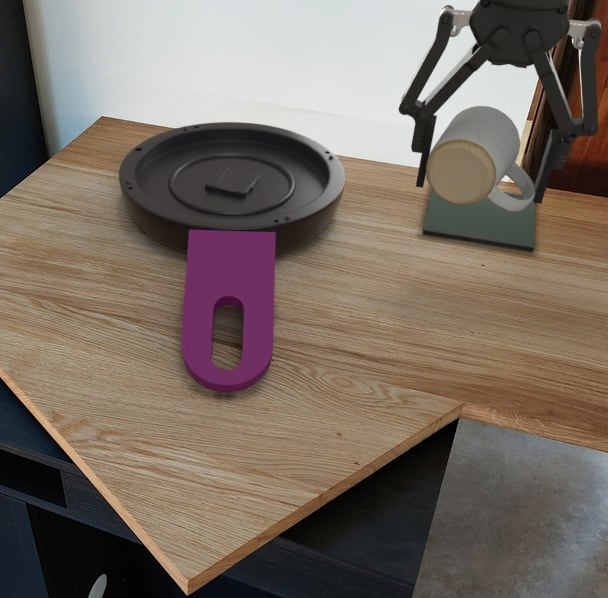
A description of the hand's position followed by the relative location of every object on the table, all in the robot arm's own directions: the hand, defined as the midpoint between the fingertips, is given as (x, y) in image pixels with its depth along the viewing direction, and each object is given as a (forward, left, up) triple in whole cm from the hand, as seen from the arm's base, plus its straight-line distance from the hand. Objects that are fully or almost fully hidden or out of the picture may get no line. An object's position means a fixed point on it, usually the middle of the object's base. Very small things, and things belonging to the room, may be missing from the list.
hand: (477, 189), depth 80 cm
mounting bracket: (+23, +13, -16) cm, 30 cm away
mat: (-2, -23, -16) cm, 28 cm away
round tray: (+31, -15, -16) cm, 38 cm away
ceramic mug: (0, 0, -1) cm, 1 cm away
